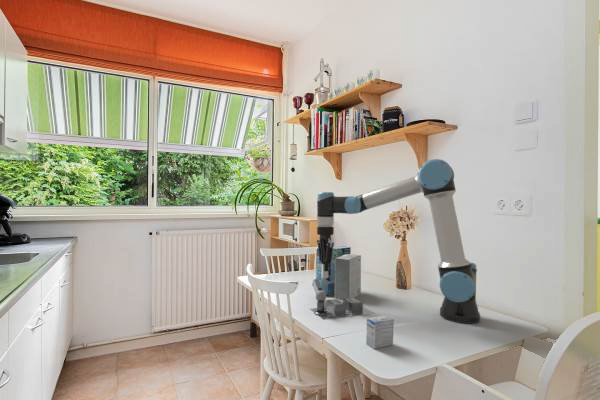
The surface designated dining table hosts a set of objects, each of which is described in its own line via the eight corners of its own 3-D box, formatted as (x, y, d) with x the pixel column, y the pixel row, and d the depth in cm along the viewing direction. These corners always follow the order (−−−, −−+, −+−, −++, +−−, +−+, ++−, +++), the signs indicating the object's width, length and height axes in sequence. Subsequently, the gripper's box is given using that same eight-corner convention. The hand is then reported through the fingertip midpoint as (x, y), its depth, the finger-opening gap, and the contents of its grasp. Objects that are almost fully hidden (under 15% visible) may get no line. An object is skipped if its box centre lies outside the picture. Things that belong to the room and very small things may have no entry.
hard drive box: (346, 292, 180) (347, 253, 180) (361, 294, 176) (361, 255, 176) (333, 299, 167) (334, 257, 167) (348, 302, 163) (349, 259, 163)
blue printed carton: (343, 288, 187) (344, 245, 187) (350, 291, 183) (351, 247, 183) (315, 293, 176) (316, 248, 176) (321, 296, 172) (322, 249, 172)
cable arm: (326, 300, 142) (326, 291, 142) (316, 300, 142) (316, 291, 142) (319, 285, 167) (319, 277, 167) (311, 285, 166) (311, 277, 166)
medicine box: (384, 340, 119) (384, 315, 119) (393, 345, 115) (394, 319, 115) (365, 344, 116) (366, 318, 116) (374, 349, 112) (375, 322, 112)
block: (362, 312, 147) (362, 302, 147) (352, 313, 145) (352, 303, 145) (352, 306, 154) (353, 297, 154) (342, 307, 152) (343, 298, 152)
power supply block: (345, 314, 144) (346, 303, 144) (334, 315, 142) (335, 304, 142) (336, 308, 151) (336, 298, 151) (326, 309, 149) (326, 299, 149)
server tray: (375, 315, 146) (376, 300, 146) (322, 321, 136) (322, 305, 136) (358, 305, 159) (358, 291, 159) (307, 310, 149) (308, 296, 149)
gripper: (339, 226, 155) (338, 280, 155) (326, 225, 167) (326, 274, 167) (324, 227, 152) (323, 281, 152) (312, 225, 165) (311, 275, 164)
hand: (324, 277), depth 160 cm, fingers closed
